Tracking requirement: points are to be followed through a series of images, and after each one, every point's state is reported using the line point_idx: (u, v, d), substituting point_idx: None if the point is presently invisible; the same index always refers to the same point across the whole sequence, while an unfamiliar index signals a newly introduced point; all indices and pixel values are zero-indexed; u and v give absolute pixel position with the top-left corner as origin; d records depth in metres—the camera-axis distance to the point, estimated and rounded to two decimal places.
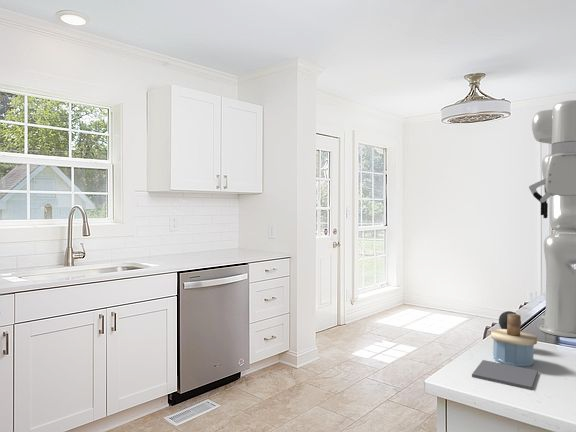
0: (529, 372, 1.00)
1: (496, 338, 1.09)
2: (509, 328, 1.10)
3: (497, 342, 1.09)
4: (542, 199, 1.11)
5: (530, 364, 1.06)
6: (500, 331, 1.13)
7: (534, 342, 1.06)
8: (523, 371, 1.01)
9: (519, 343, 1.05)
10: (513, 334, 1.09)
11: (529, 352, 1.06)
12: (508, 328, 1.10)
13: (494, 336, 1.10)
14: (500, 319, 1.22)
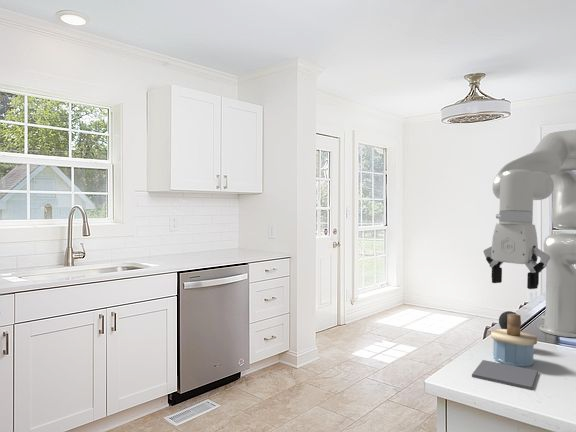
0: (529, 372, 1.00)
1: (496, 338, 1.09)
2: (509, 328, 1.10)
3: (497, 342, 1.09)
4: None
5: (530, 364, 1.06)
6: (500, 331, 1.13)
7: (534, 342, 1.06)
8: (523, 371, 1.01)
9: (519, 343, 1.05)
10: (513, 334, 1.09)
11: (529, 352, 1.06)
12: (508, 328, 1.10)
13: (494, 336, 1.10)
14: (500, 319, 1.22)
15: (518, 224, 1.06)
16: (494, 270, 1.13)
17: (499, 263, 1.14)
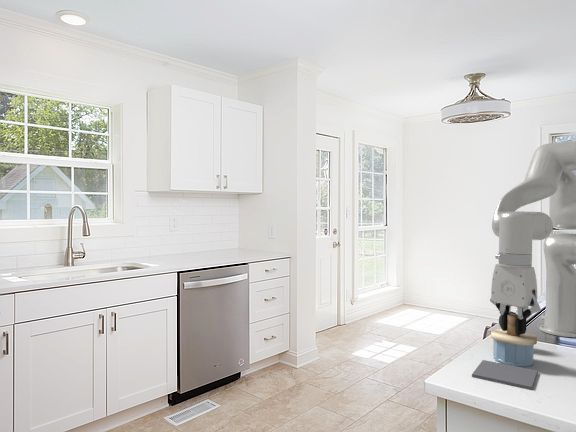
0: (529, 372, 1.00)
1: (496, 338, 1.09)
2: (509, 328, 1.10)
3: (497, 342, 1.09)
4: None
5: (530, 364, 1.06)
6: (500, 331, 1.13)
7: (534, 342, 1.06)
8: (523, 371, 1.01)
9: (519, 343, 1.05)
10: (513, 334, 1.09)
11: (529, 352, 1.06)
12: (508, 328, 1.10)
13: (494, 336, 1.10)
14: (500, 319, 1.22)
15: (517, 267, 1.07)
16: (504, 318, 1.11)
17: (508, 308, 1.13)
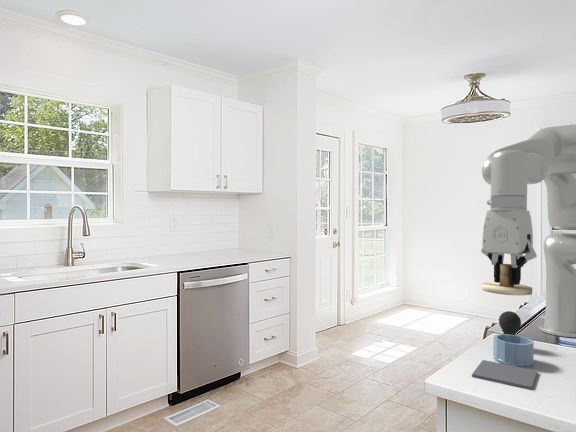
0: (529, 372, 1.00)
1: (487, 289, 0.99)
2: (502, 279, 0.99)
3: (497, 342, 1.09)
4: None
5: (530, 364, 1.06)
6: (492, 283, 1.03)
7: (529, 292, 0.96)
8: (523, 371, 1.01)
9: (512, 293, 0.95)
10: (506, 285, 0.99)
11: (529, 352, 1.06)
12: (501, 279, 1.00)
13: (485, 287, 1.00)
14: (500, 319, 1.22)
15: (511, 210, 0.97)
16: (497, 268, 1.01)
17: (501, 258, 1.02)
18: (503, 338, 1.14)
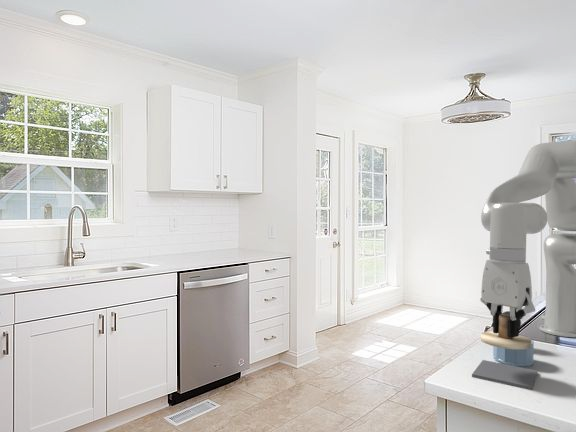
0: (529, 372, 1.00)
1: (486, 341, 0.99)
2: (501, 330, 1.00)
3: None
4: None
5: (530, 364, 1.06)
6: (491, 333, 1.03)
7: (528, 346, 0.96)
8: (523, 371, 1.01)
9: (511, 347, 0.95)
10: (505, 337, 0.99)
11: (529, 352, 1.06)
12: (499, 330, 1.00)
13: (484, 339, 1.00)
14: None
15: (510, 263, 0.97)
16: (496, 319, 1.01)
17: (500, 309, 1.03)
18: None
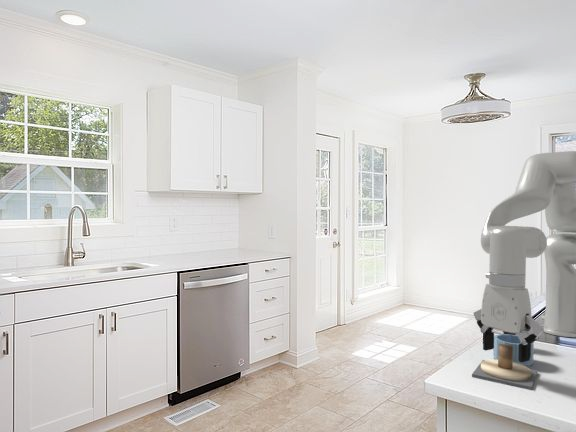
0: None
1: (486, 371, 0.99)
2: (501, 360, 1.00)
3: (497, 342, 1.09)
4: None
5: (530, 364, 1.06)
6: (491, 362, 1.03)
7: (527, 377, 0.96)
8: None
9: (511, 378, 0.95)
10: (505, 367, 0.99)
11: None
12: (499, 360, 1.00)
13: (484, 369, 1.00)
14: None
15: (509, 289, 0.97)
16: (485, 336, 1.03)
17: (491, 327, 1.05)
18: (503, 338, 1.14)
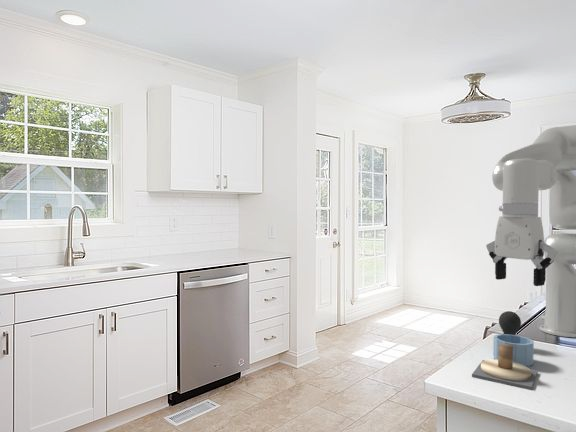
0: None
1: (486, 371, 0.99)
2: (501, 360, 1.00)
3: (497, 342, 1.09)
4: None
5: (530, 364, 1.06)
6: (491, 362, 1.03)
7: (528, 377, 0.96)
8: None
9: (511, 378, 0.95)
10: (505, 367, 0.99)
11: (529, 352, 1.06)
12: (499, 361, 1.00)
13: (484, 369, 1.00)
14: (500, 319, 1.22)
15: (523, 217, 1.00)
16: (498, 266, 1.07)
17: (503, 258, 1.08)
18: (503, 338, 1.14)
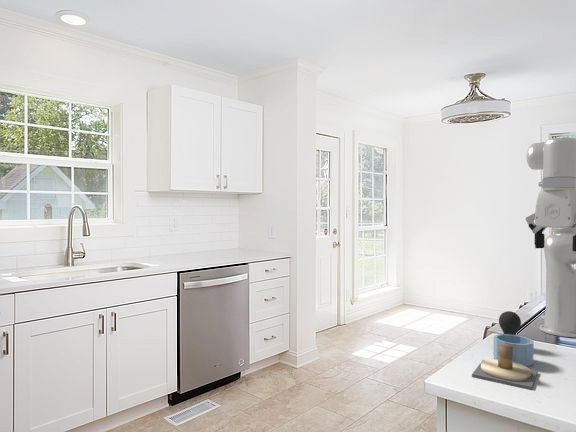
0: None
1: (486, 371, 0.99)
2: (501, 360, 1.00)
3: (497, 342, 1.09)
4: None
5: (530, 364, 1.06)
6: (491, 362, 1.03)
7: (528, 377, 0.96)
8: None
9: (511, 378, 0.95)
10: (505, 367, 0.99)
11: (529, 352, 1.06)
12: (499, 361, 1.00)
13: (484, 369, 1.00)
14: (500, 319, 1.22)
15: (563, 190, 1.11)
16: (537, 236, 1.18)
17: (542, 229, 1.19)
18: (503, 338, 1.14)
